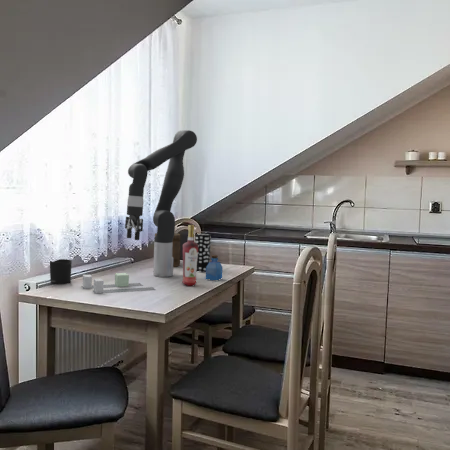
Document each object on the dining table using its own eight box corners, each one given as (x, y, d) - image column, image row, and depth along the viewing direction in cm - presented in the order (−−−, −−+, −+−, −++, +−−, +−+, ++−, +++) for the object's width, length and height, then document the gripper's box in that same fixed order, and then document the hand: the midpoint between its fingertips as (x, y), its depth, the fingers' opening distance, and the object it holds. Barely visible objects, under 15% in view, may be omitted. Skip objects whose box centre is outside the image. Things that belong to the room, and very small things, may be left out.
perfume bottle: (222, 279, 243) (222, 255, 242) (216, 281, 237) (217, 256, 236) (211, 277, 245) (211, 254, 244) (205, 279, 240) (206, 255, 239)
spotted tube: (207, 272, 258) (208, 235, 257) (192, 271, 260) (193, 234, 258) (211, 270, 267) (212, 234, 265) (196, 269, 268) (197, 233, 267)
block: (125, 283, 218) (126, 273, 217) (128, 286, 213) (128, 275, 213) (114, 284, 216) (115, 273, 215) (117, 286, 211) (117, 275, 211)
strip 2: (152, 288, 213) (152, 275, 213) (156, 291, 208) (156, 278, 208) (92, 292, 202) (92, 278, 202) (94, 295, 197) (95, 281, 196)
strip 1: (139, 284, 221) (139, 272, 221) (143, 287, 216) (143, 274, 215) (81, 287, 210) (81, 274, 210) (83, 290, 205) (83, 277, 204)
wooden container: (152, 263, 282) (153, 225, 280) (177, 263, 286) (178, 226, 284) (156, 267, 267) (157, 228, 266) (182, 267, 272) (183, 228, 270)
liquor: (185, 287, 220) (186, 226, 218) (178, 283, 227) (180, 224, 224) (199, 286, 224) (201, 226, 221) (193, 283, 230) (195, 224, 228)
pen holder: (49, 281, 222) (49, 259, 221) (70, 280, 226) (70, 259, 225) (50, 285, 214) (50, 262, 213) (72, 284, 217) (72, 262, 216)
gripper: (149, 206, 228) (146, 241, 229) (135, 205, 240) (133, 237, 241) (134, 206, 224) (132, 240, 225) (121, 204, 235) (119, 237, 236)
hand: (132, 239), depth 233 cm, fingers open, 8 cm apart
